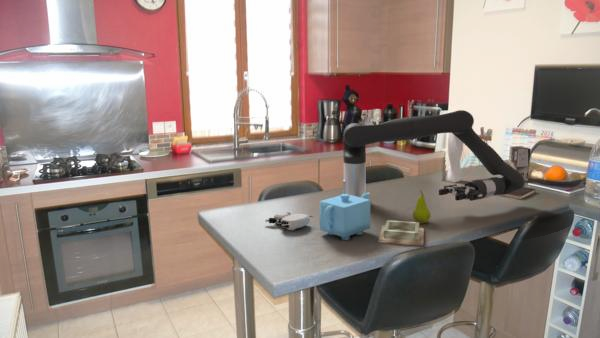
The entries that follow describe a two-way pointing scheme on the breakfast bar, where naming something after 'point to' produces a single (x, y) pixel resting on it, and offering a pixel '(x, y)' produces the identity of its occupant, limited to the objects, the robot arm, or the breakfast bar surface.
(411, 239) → the tray
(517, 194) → the book
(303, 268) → the breakfast bar surface
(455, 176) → the skyscraper
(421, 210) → the fruit
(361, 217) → the teapot
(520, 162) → the coffee box
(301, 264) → the breakfast bar surface
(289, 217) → the robot toy
